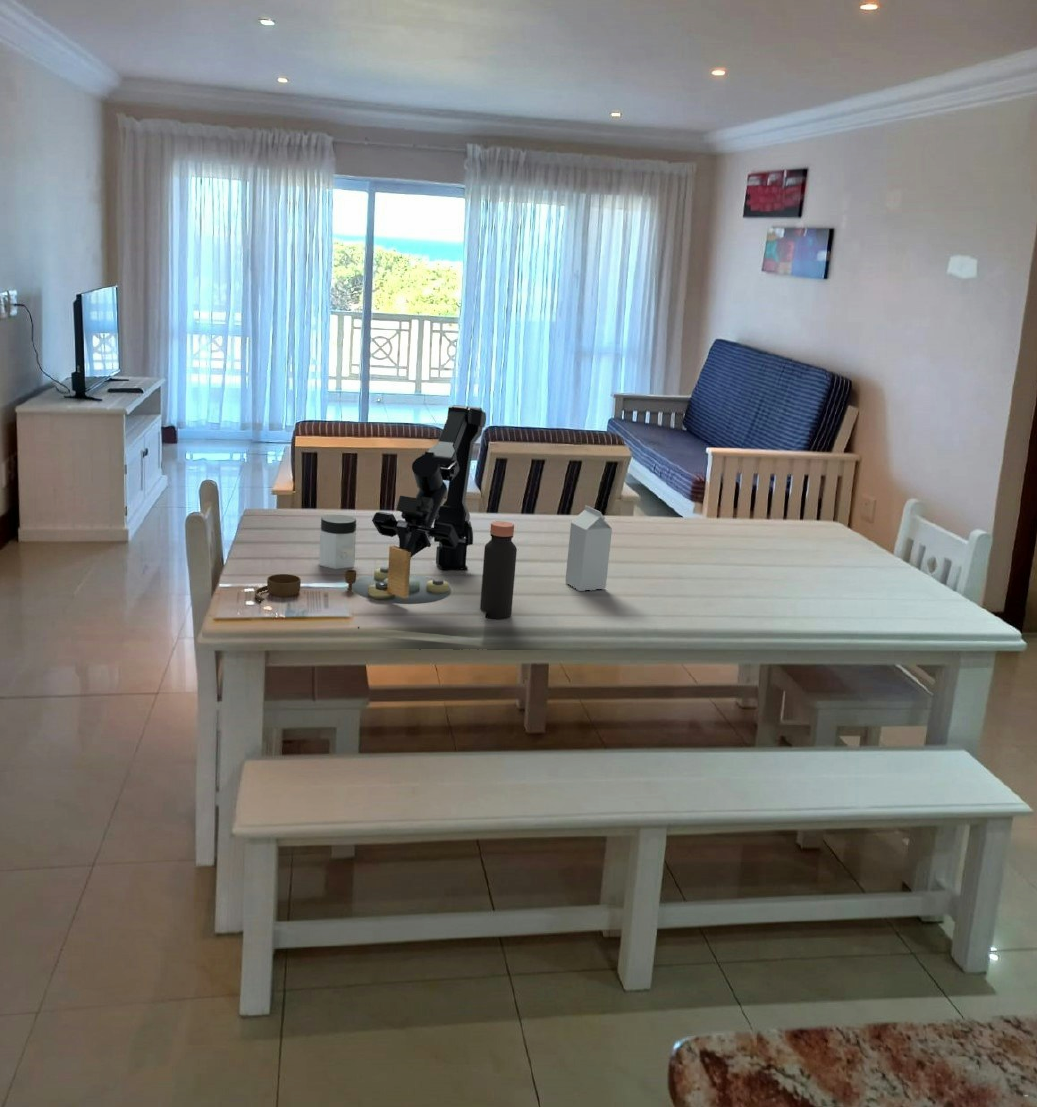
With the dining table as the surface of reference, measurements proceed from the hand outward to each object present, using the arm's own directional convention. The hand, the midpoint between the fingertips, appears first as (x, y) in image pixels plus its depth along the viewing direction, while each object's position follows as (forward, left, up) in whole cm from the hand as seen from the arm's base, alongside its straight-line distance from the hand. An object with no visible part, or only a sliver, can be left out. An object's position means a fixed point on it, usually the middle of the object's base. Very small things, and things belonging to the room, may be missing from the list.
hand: (400, 562), depth 229 cm
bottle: (-20, +7, -10) cm, 23 cm away
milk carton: (-48, -11, -10) cm, 50 cm away
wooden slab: (+2, -1, -8) cm, 9 cm away
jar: (+8, -29, -10) cm, 32 cm away
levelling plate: (-3, -9, -10) cm, 14 cm away
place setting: (+19, -7, -11) cm, 23 cm away
